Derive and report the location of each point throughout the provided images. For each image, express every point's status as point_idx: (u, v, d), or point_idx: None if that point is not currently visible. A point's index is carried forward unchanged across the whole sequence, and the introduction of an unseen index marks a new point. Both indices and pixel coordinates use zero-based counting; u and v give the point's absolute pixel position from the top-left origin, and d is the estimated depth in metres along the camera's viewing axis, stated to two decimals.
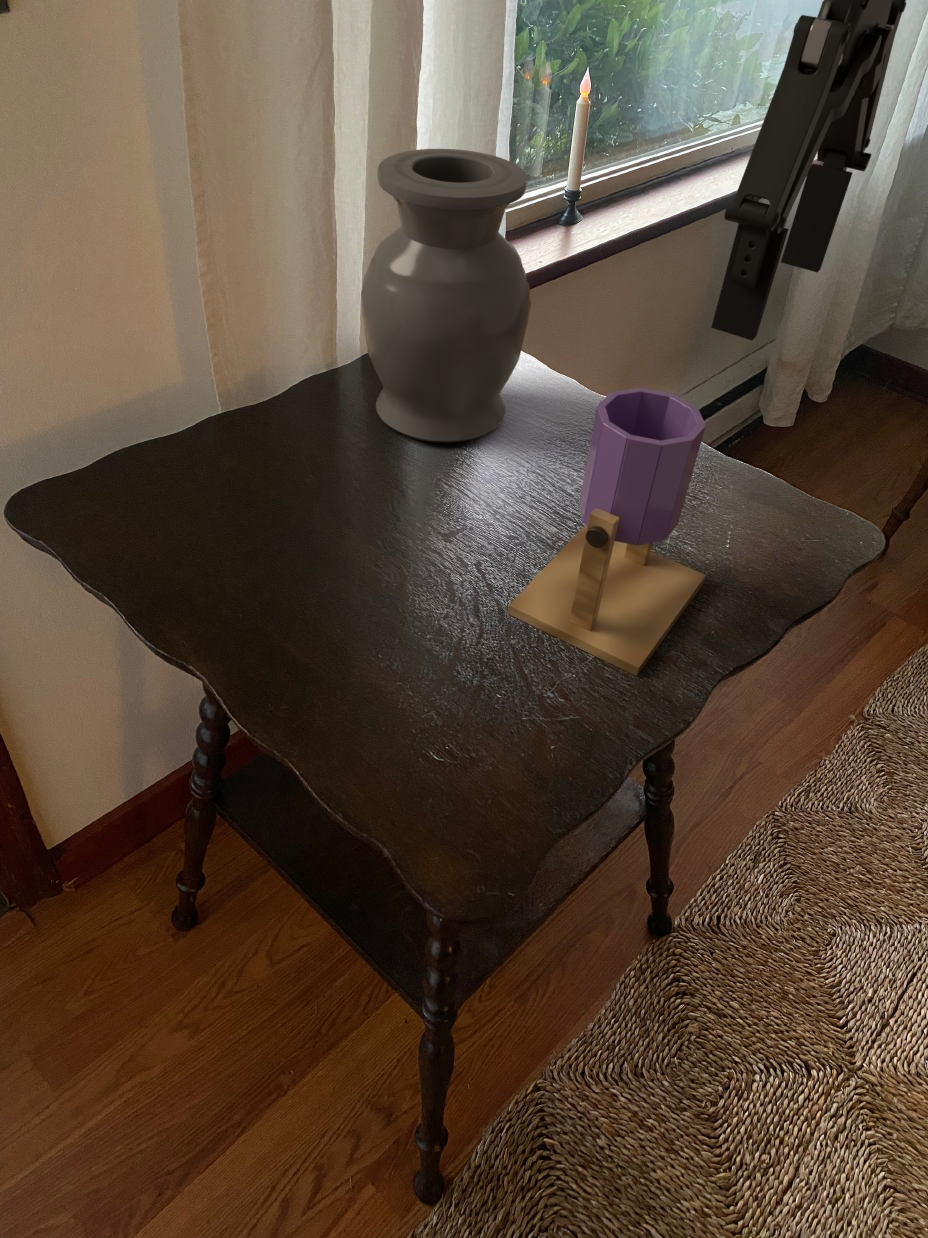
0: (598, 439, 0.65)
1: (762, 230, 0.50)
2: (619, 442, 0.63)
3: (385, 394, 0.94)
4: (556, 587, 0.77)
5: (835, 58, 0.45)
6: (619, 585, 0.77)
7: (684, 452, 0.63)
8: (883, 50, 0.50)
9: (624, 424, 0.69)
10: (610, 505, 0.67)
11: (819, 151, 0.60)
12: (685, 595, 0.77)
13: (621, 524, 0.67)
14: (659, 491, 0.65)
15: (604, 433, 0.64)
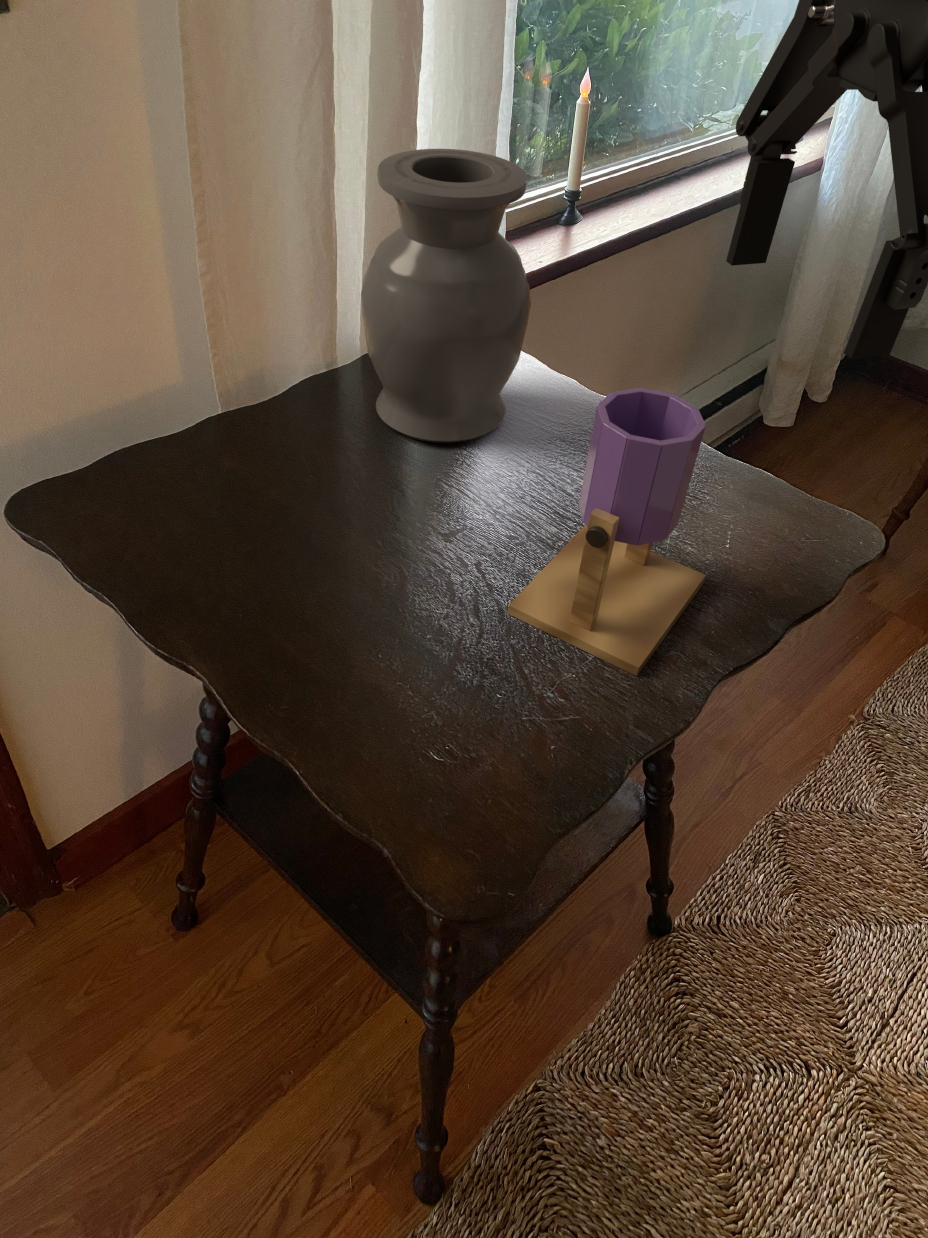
0: (598, 439, 0.65)
1: None
2: (619, 442, 0.63)
3: (385, 394, 0.94)
4: (556, 587, 0.77)
5: None
6: (619, 585, 0.77)
7: (684, 452, 0.63)
8: None
9: (624, 424, 0.69)
10: (610, 505, 0.67)
11: (763, 146, 0.56)
12: (685, 595, 0.77)
13: (621, 524, 0.67)
14: (659, 491, 0.65)
15: (604, 433, 0.64)
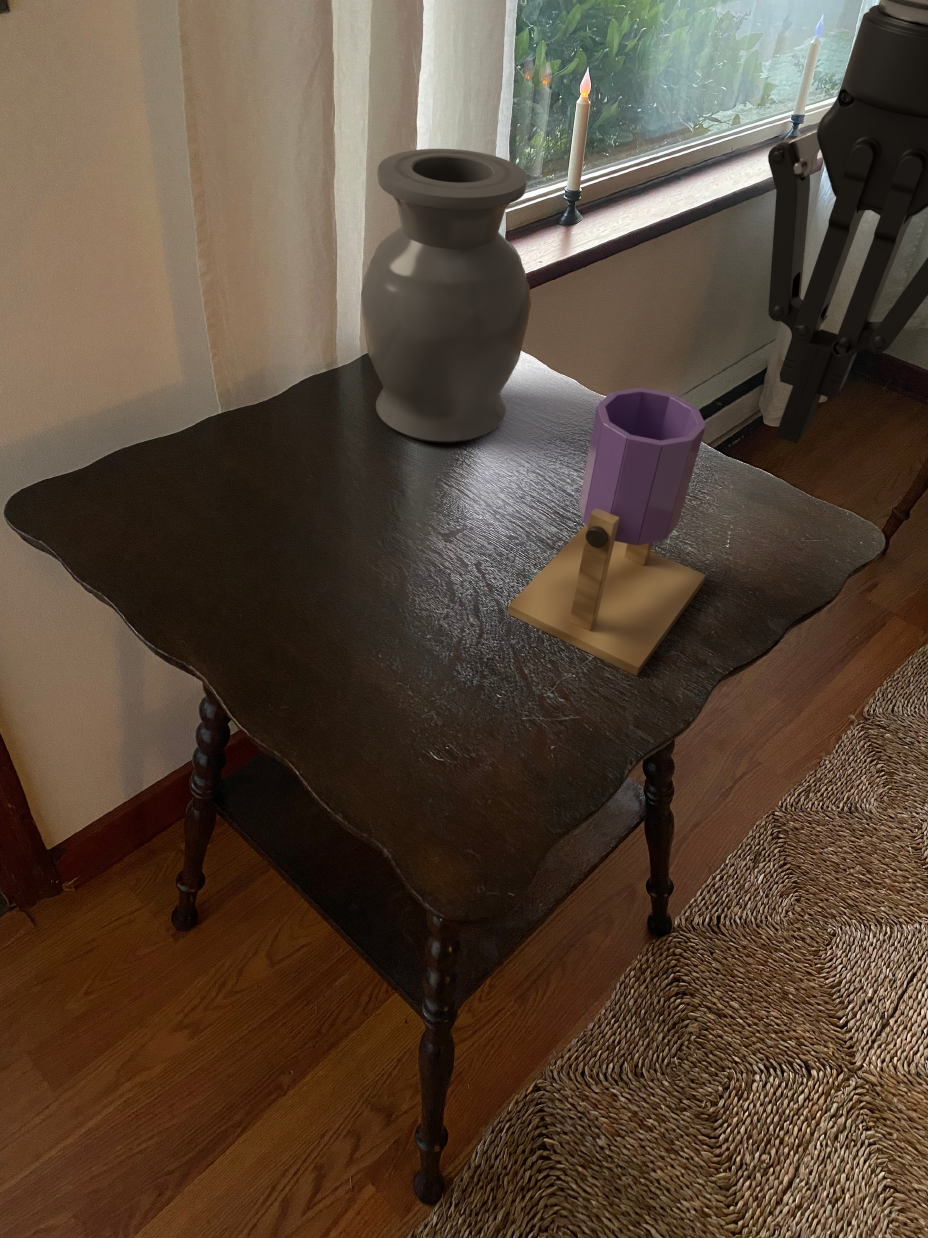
0: (598, 439, 0.65)
1: None
2: (619, 442, 0.63)
3: (385, 394, 0.94)
4: (556, 587, 0.77)
5: None
6: (619, 585, 0.77)
7: (684, 452, 0.63)
8: None
9: (624, 424, 0.69)
10: (610, 505, 0.67)
11: (818, 320, 0.54)
12: (685, 595, 0.77)
13: (621, 524, 0.67)
14: (659, 491, 0.65)
15: (604, 433, 0.64)
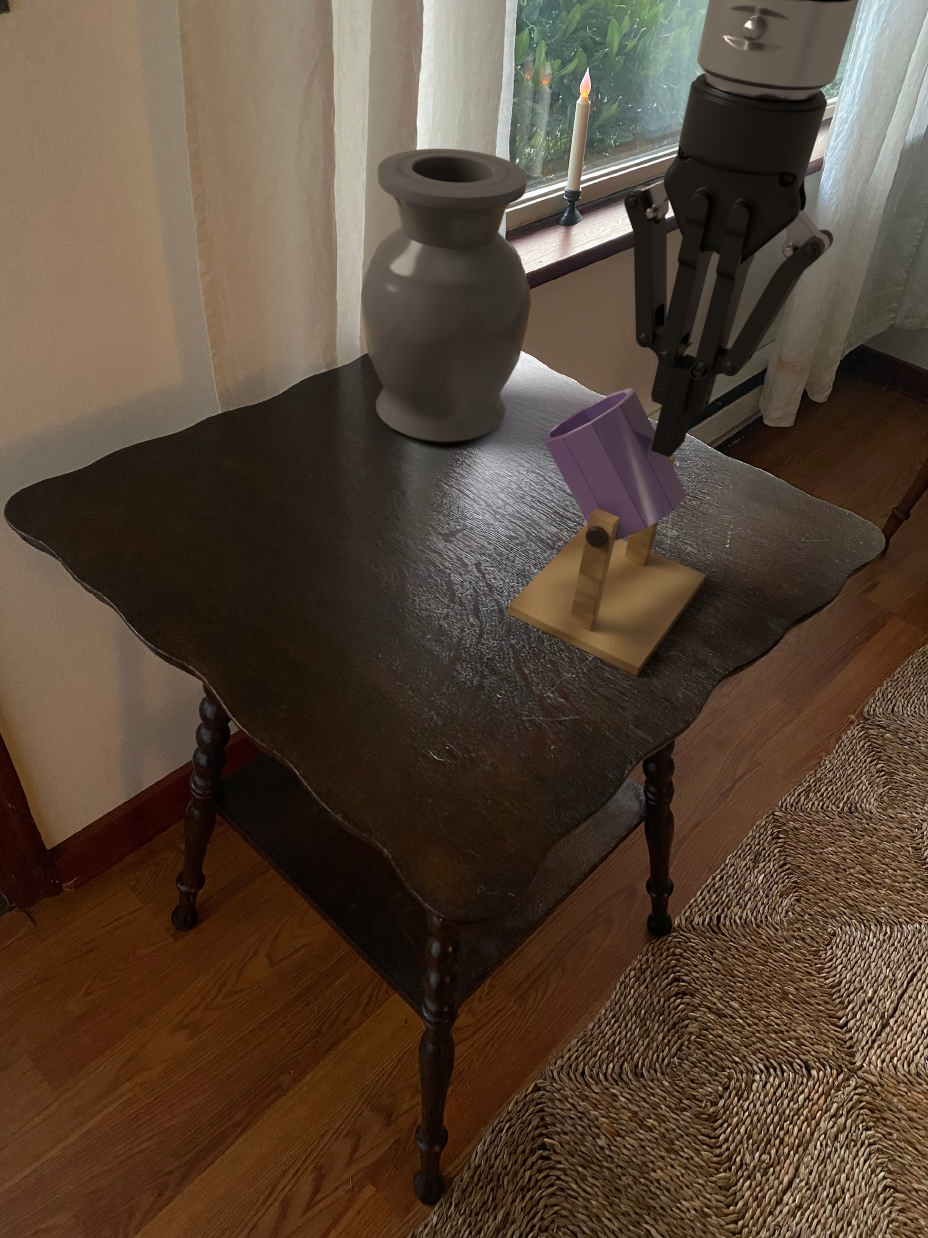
0: (553, 459, 0.68)
1: None
2: (562, 446, 0.66)
3: (385, 394, 0.94)
4: (556, 587, 0.77)
5: None
6: (619, 585, 0.77)
7: (620, 419, 0.65)
8: None
9: None
10: (597, 506, 0.67)
11: (678, 347, 0.60)
12: (685, 595, 0.77)
13: None
14: (625, 465, 0.66)
15: (551, 449, 0.68)
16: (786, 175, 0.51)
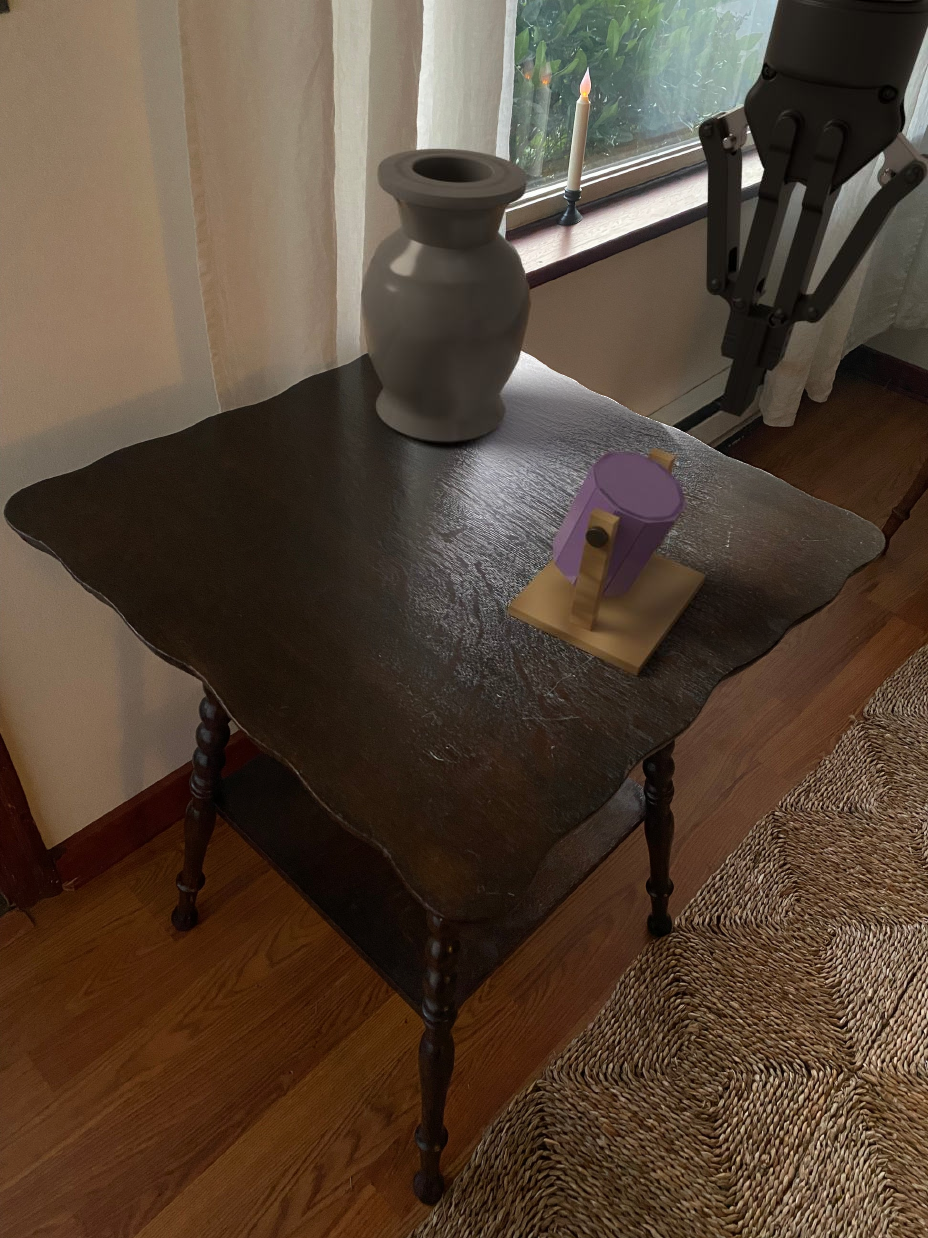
0: (609, 585, 0.72)
1: None
2: None
3: (385, 394, 0.94)
4: (556, 587, 0.77)
5: None
6: None
7: (555, 539, 0.75)
8: None
9: None
10: None
11: (753, 293, 0.55)
12: (685, 595, 0.77)
13: None
14: (570, 525, 0.72)
15: None
16: (887, 89, 0.46)
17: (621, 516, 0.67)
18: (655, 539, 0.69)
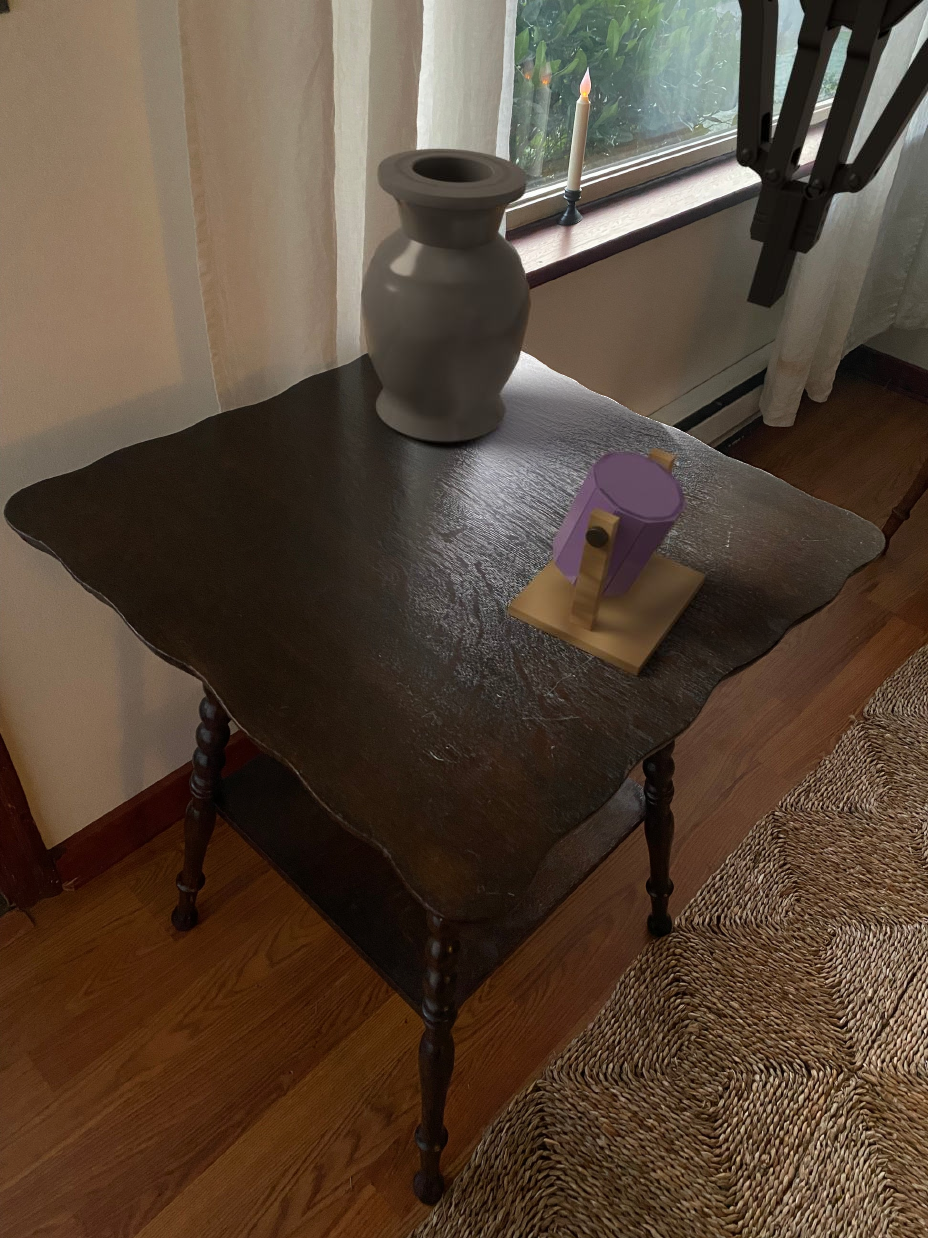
0: (609, 585, 0.72)
1: None
2: None
3: (385, 394, 0.94)
4: (556, 587, 0.77)
5: None
6: None
7: (555, 539, 0.75)
8: None
9: None
10: None
11: (788, 162, 0.50)
12: (685, 595, 0.77)
13: None
14: (570, 525, 0.72)
15: None
16: None
17: (621, 516, 0.67)
18: (655, 539, 0.69)
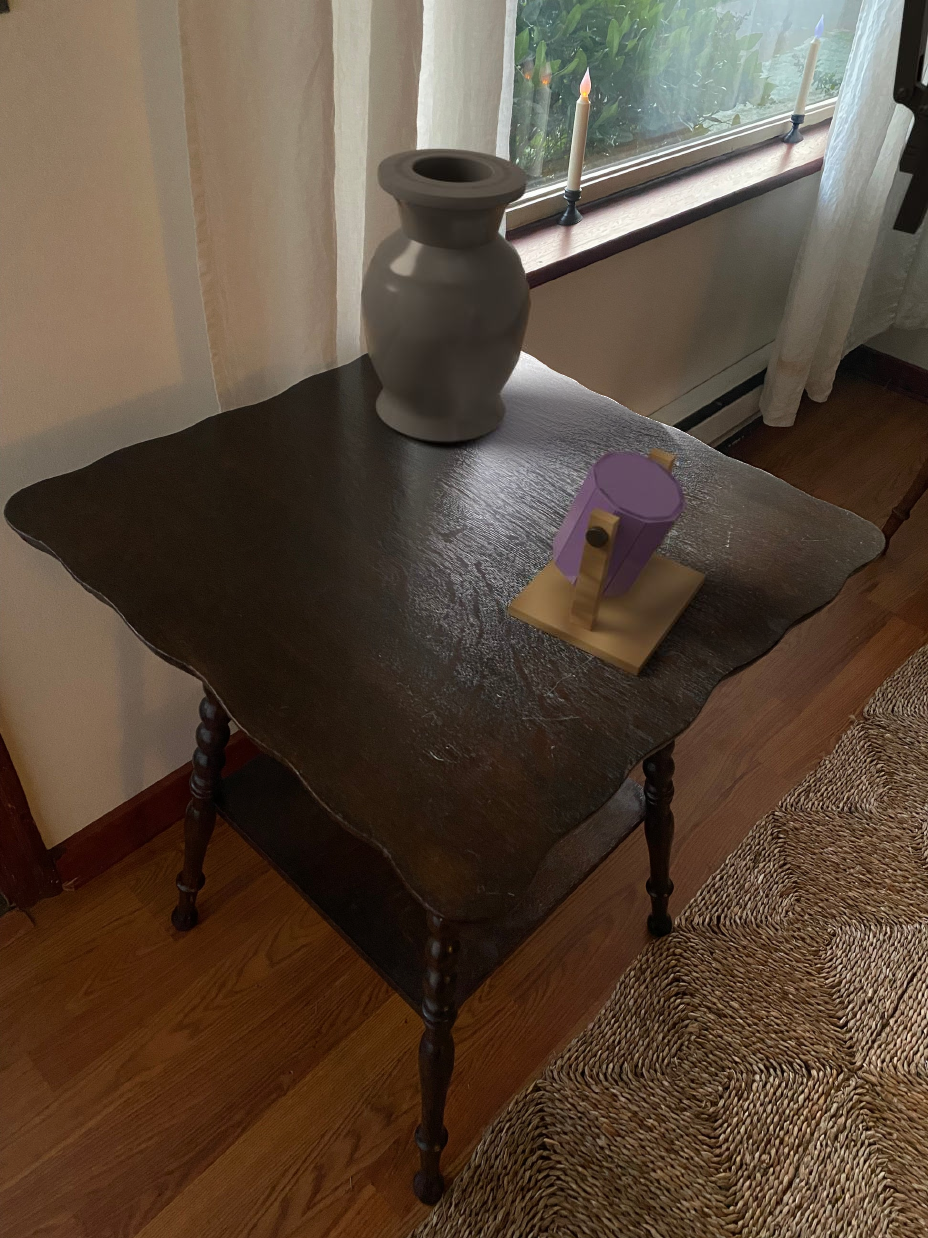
0: (609, 585, 0.72)
1: None
2: None
3: (385, 394, 0.94)
4: (556, 587, 0.77)
5: None
6: None
7: (555, 539, 0.75)
8: None
9: None
10: None
11: None
12: (685, 595, 0.77)
13: None
14: (570, 525, 0.72)
15: None
16: None
17: (621, 516, 0.67)
18: (655, 539, 0.69)
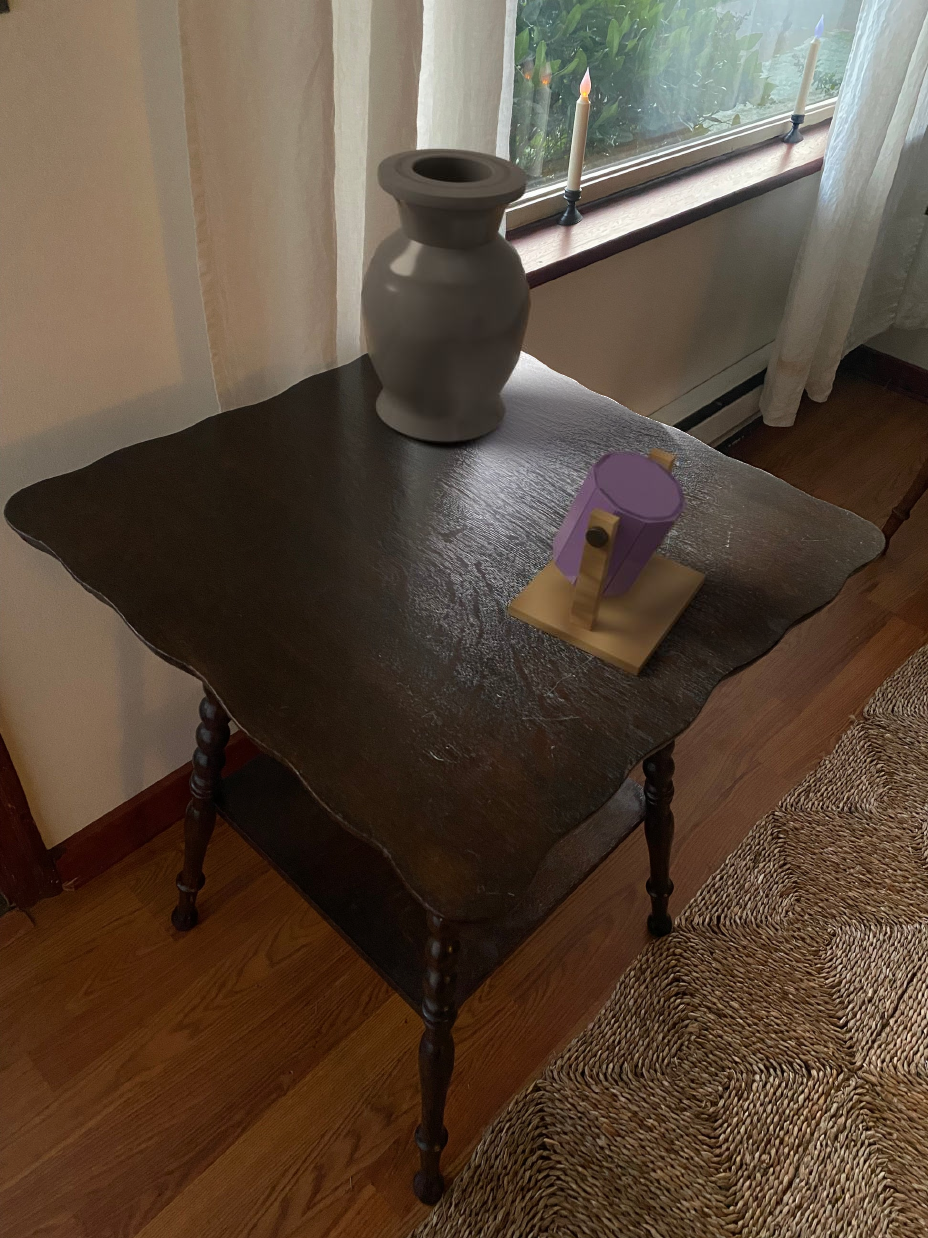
0: (609, 585, 0.72)
1: None
2: None
3: (385, 394, 0.94)
4: (556, 587, 0.77)
5: None
6: None
7: (555, 539, 0.75)
8: None
9: None
10: None
11: None
12: (685, 595, 0.77)
13: None
14: (570, 525, 0.72)
15: None
16: None
17: (621, 516, 0.67)
18: (655, 539, 0.69)
